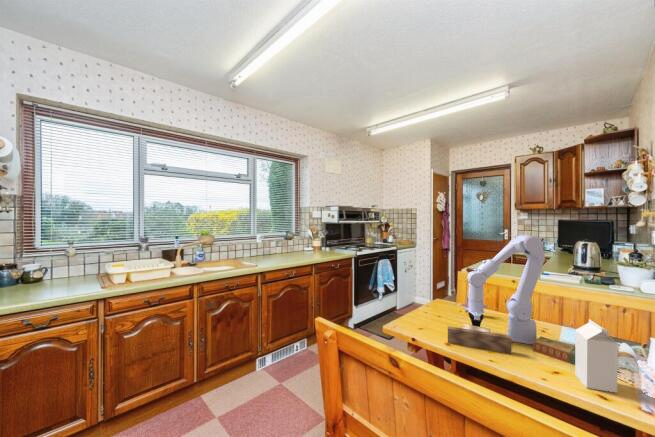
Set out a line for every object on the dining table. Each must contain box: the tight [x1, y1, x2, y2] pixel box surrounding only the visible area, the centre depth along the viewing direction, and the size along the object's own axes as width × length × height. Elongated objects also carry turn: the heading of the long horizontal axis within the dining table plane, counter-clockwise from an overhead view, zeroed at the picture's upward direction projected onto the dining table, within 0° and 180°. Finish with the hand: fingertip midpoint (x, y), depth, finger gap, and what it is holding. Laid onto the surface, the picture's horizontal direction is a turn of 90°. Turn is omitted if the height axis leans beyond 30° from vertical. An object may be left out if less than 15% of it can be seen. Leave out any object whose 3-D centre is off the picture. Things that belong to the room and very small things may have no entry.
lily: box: [459, 296, 489, 313], centre depth 140 cm, size 12×12×10 cm
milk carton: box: [574, 318, 619, 394], centre depth 83 cm, size 7×7×19 cm
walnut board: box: [447, 325, 513, 355], centre depth 107 cm, size 22×2×6 cm, turn 65°
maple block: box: [461, 323, 491, 333], centre depth 113 cm, size 10×7×5 cm
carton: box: [532, 336, 575, 366], centre depth 99 cm, size 8×16×4 cm, turn 35°
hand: (475, 330), depth 117 cm, fingers closed
